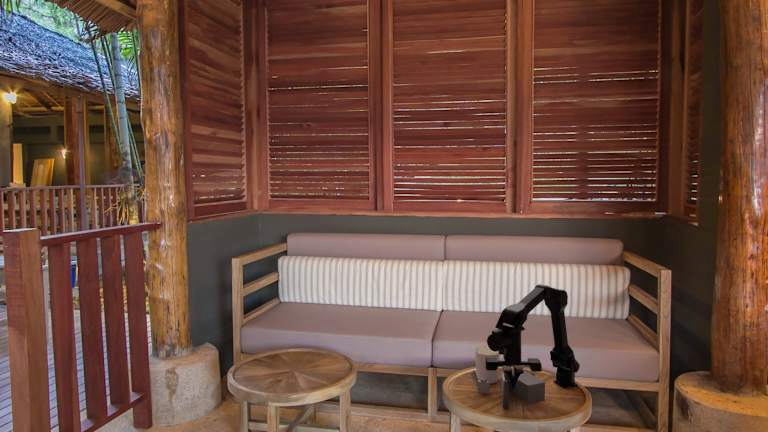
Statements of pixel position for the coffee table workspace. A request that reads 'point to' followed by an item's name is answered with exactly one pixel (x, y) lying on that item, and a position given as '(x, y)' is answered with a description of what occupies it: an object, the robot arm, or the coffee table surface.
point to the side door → (505, 391)
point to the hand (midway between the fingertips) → (512, 388)
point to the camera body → (527, 388)
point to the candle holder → (481, 371)
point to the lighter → (481, 383)
